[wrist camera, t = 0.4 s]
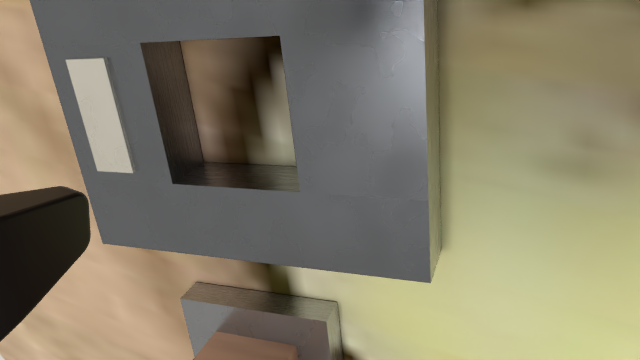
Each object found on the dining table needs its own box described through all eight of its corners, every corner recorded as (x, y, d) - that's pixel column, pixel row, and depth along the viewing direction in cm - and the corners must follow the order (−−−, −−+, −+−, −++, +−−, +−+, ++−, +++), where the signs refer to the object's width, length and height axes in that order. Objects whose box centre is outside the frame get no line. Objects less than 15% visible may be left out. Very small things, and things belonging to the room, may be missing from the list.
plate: (441, 249, 23) (430, 286, 20) (135, 220, 28) (100, 245, 26) (435, -94, 18) (419, -97, 15) (64, -45, 23) (12, -42, 21)
